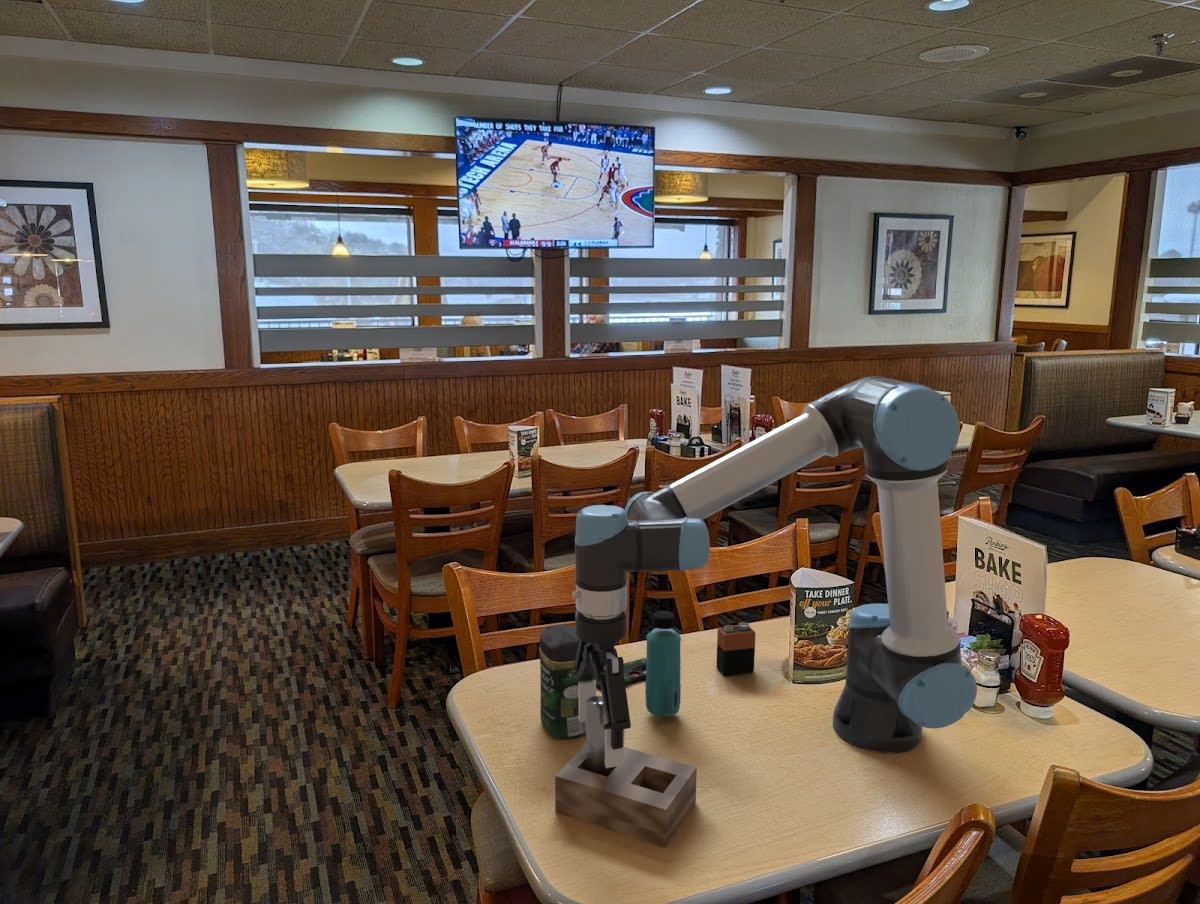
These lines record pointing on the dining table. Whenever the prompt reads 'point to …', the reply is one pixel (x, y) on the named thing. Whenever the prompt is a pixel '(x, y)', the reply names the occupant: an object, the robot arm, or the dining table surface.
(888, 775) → the dining table surface
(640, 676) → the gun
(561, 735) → the coffee jar
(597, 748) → the steel peg
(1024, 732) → the dining table surface
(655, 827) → the peg block
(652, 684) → the beverage bottle
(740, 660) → the battery
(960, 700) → the robot arm
